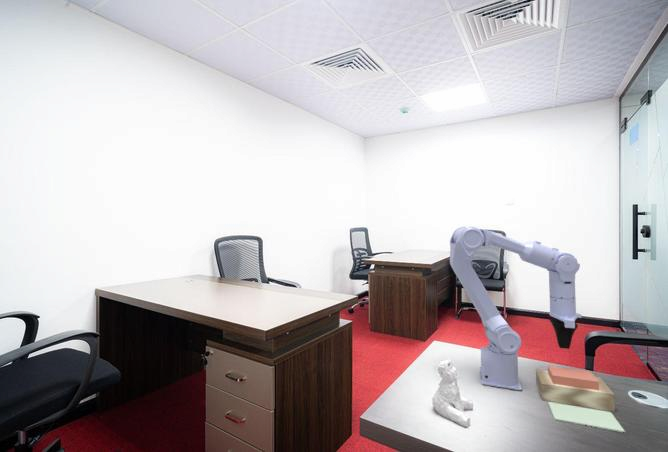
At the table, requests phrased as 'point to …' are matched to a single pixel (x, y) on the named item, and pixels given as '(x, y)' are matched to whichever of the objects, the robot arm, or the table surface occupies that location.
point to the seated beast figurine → (451, 396)
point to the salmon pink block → (573, 378)
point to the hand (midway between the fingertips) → (564, 347)
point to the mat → (585, 416)
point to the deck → (575, 393)
